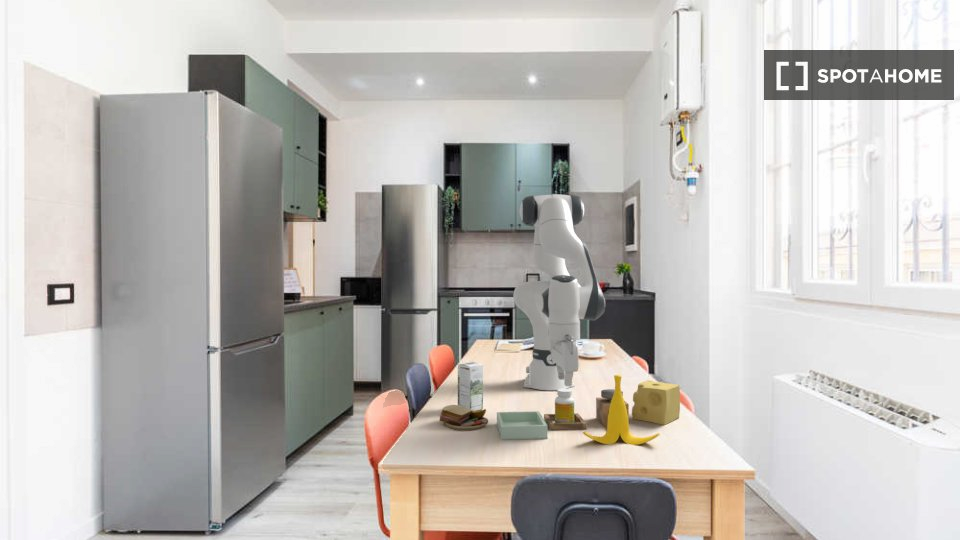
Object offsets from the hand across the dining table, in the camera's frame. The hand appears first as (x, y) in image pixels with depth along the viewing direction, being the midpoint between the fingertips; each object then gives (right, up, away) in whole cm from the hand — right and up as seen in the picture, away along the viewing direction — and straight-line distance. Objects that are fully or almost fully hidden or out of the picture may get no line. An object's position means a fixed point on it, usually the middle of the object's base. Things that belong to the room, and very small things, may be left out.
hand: (564, 382), depth 152 cm
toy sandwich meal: (-28, -13, +1) cm, 31 cm away
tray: (-13, -12, -5) cm, 18 cm away
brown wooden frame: (0, -12, +1) cm, 12 cm away
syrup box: (-27, -12, +16) cm, 33 cm away
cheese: (+28, -12, +6) cm, 31 cm away
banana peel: (+14, -12, -14) cm, 23 cm away
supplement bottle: (0, -12, +1) cm, 12 cm away
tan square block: (+14, -12, +3) cm, 18 cm away
